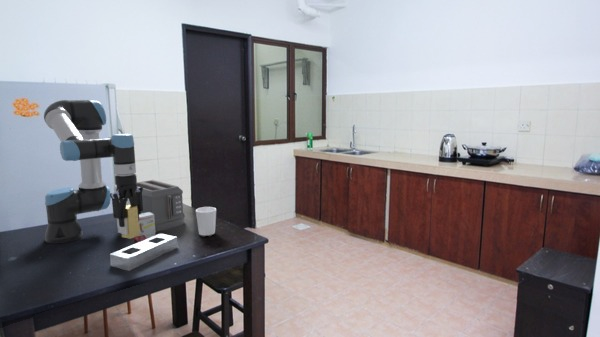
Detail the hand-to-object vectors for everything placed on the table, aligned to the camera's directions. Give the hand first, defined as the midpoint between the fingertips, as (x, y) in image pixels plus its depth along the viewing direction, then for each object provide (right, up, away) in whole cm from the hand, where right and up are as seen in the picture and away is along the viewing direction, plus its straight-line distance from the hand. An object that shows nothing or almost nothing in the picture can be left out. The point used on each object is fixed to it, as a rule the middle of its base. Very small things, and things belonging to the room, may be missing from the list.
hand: (130, 232), depth 147 cm
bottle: (-20, -6, +40) cm, 45 cm away
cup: (+22, -7, +35) cm, 42 cm away
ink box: (-6, -8, +29) cm, 31 cm away
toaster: (-12, -4, +55) cm, 56 cm away
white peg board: (+3, -12, +9) cm, 15 cm away
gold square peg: (0, -2, 0) cm, 2 cm away
